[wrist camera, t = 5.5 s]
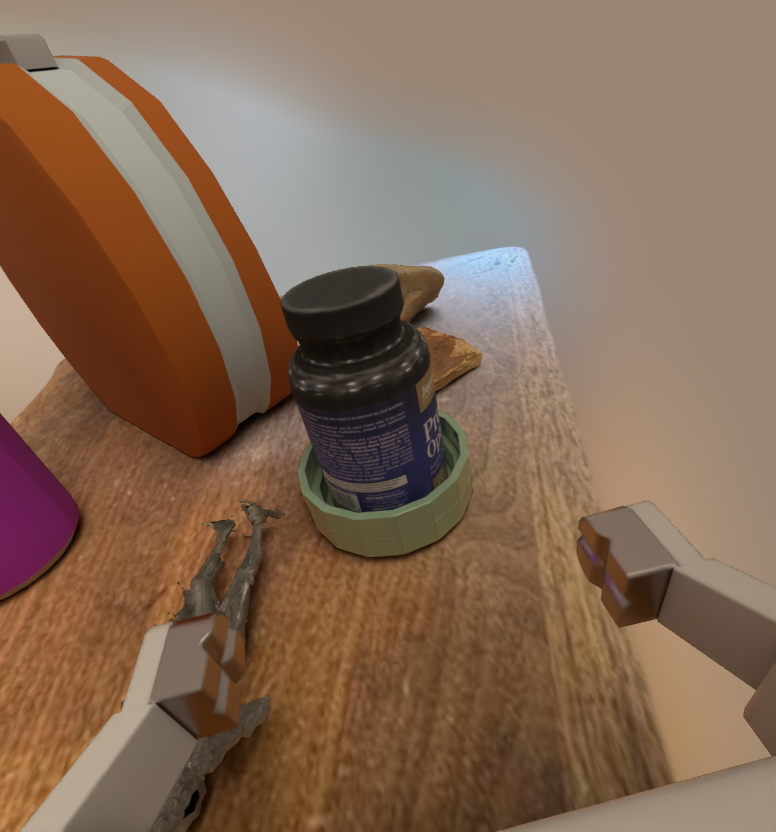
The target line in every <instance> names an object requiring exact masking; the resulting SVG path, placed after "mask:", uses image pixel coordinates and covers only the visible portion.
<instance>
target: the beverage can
mask: <svg viewBox="0 0 776 832" xmlns="http://www.w3.org/2000/svg"><path fill="white" fill-rule="evenodd" d="M79 517H80V514H79V510H78V506H77V504H76V502H75V501H74V499H73V498H72V496H71V495H70V494H69V492H68V491H67V490H66V489H65V488H64V487H63V486H62V484H61V483H60V482H59V481H58V480H57V479H56V477H55V476H54V475H53V474H52V473H51V472H50V470H49V469H48V468H47V467H46V466H45V465H44V463H43V462H42V461H41V460H40V459H39V458H38V457H37V455H36V454H35V453H34V452H33V451H32V450H31V448H30V447H29V446H28V445H27V444H26V443H25V441H24V440H23V439H22V438H21V437H20V436H19V435H18V433H17V432H16V431H15V430H14V429H13V428H12V426H11V425H10V424H9V423H8V422H7V421H6V419H5V418H4V417H3V416H2V415H1V414H0V600H2V599H5V598H7V597H9V596H11V595H13V594H14V593H16V592H18V591H19V590H21V589H23V588H25V587H26V586H28V585H29V584H31V583H32V582H33V581H35V580H36V579H37V578H38V577H40V576H41V575H42V574H44V573H45V572H46V571H47V570H48V569H49V568H50V567H51V566H52V565H53V564H54V563H55V562H56V561H57V560H58V559H59V558H60V557H61V556H62V555H63V553H64V552H65V550H66V549H67V547H68V546H69V544H70V542H71V541H72V537H73V534H74V532H75V530H76V527H77V523H78V520H79Z"/></svg>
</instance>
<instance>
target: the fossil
mask: <svg viewBox="0 0 776 832" xmlns="http://www.w3.org/2000/svg"><path fill="white" fill-rule="evenodd" d="M369 266H382V267H387V268H390V269H392V270H394V271H396V272H397V274H398V276H399V280H400V285H401V291H402V296H403V299H404V307H403V310H402V313H401V315H400V320H403V321H406V322H408V323H410V322H411V321H412V319H413V318H414V316H415V315H416V314H417V313H418V312H419V311H421V310H422V309H423V308H424V307H425V306H426V305H427V304H428V303H431V302H433V301H434V300H435V299H436V298H437V297H438V294H439V292H440V290H441V288H442V286H443V284H444V277H443V274H442V273H441V272H440V271H438V270H437V269H434V268H432V267H431V266H419V267H417V266H403V265H387V264H377V265H369Z"/></svg>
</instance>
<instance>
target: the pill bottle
mask: <svg viewBox="0 0 776 832" xmlns="http://www.w3.org/2000/svg"><path fill="white" fill-rule="evenodd" d="M403 307H404V299H403V296H402V291H401V285H400V280H399V276H398V274H397V272H396V271H394V270H392V269H390V268H387V267H382V266H359V267H351V268H346V269H339V270H337V271H332V272H328V273H325V274H322V275H319V276H316V277H314V278H312V279H309V280H306V281H304V282H302V283H300V284H298V285H297V286H295V287H293V288H292V289H290V290H289V291H288V292H287V293H286V294H285V295H284V297H282V299H281V308H282V312H283V314H284V318H285V321H286V325H287V328H288V330H289V331H290V333H291V334H292V336H293V337H294V338H295V340H297V341H299V344H300V346H299V347H298V348H297V349H296V350H295V351H294V353H293V355H292V357H291V359H290V362H289V366H288V380H289V384H290V387H291V391H292V394H293V396H294V398H295V401H296V403H297V406H298V409H299V411H300V414H301V417H302V419H303V422H304V425H305V428H306V430H307V433H308V435H309V438H310V441H311V444H312V446H313V449H314V452H315V454H316V457H317V460H318V462H319V465H320V467H321V470H322V473H323V476H324V478H325V481H326V483H327V486H328V489H329V491H330V494H331V496H332V499H333V503H334V505H335V507H337V508H341V509H345V510H349V511H352V512H356V513H362V512H374V511H386V510H394V509H396V508H399V507H401V506H404V505H406V504H409V503H411V502H414V501H417V500H419V499H422V498H424V497H426V496H427V495H429V494H430V493H431V492H432V491H433V490H434V489H436V488H437V487H438V486H439V485H440V484H442V483H443V482H444V481H445V480H446V479H448V472H447V464H446V458H445V452H444V446H443V439H442V432H441V426H440V420H439V413H438V407H437V400H436V394H435V387H434V381H433V374H432V369H431V362H430V353H429V350H428V345H427V342H426V340H425V338H424V336H423V335H422V333H421V332H420V331H419V330H418V329H417V328H416V327H414V326H413V325H411V324H410V323H408V322H406V321H403V320H400V315H401V313H402V310H403Z"/></svg>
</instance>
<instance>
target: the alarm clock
mask: <svg viewBox="0 0 776 832" xmlns="http://www.w3.org/2000/svg"><path fill="white" fill-rule="evenodd" d="M0 266H1V267H2V269H3V271H4V272H5V274H6V275H7V277H8V279H9V280H10V281H11V283H12V285H13V286H14V287H15V289H16V290H17V292H18V293H19V295H20V296H21V298H22V299H23V301H24V302H25V303H26V305H27V306H28V308H29V309H30V311H31V312H32V313H33V315H34V316H35V318H36V319H37V321H38V322H39V324H40V325H41V326H42V328H43V329H44V330H45V332H46V333H47V334H48V336H50V338H51V339H52V341H53V342H54V343H55V345H56V346H57V347H58V349H59V350H60V351H61V353H62V354H63V355H64V357H65V358H66V359H67V361H68V362H69V363H70V364H71V366H72V367H73V368H74V369H75V370H76V372H77V373H78V374H79V375H80V376H81V378H82V379H83V380H84V381H85V382H86V384H87V385H88V386H89V387H90V388H91V389H92V391H93V392H94V393H95V394H96V395H97V396H98V397H99V398H100V399H101V400H102V401H103V402H104V403H105V405H106V406H107V407H108V408H109V409H110V410H111V411H112V412H113V413H115V414H117V415H119V416H120V417H122V418H124V419H126V420H127V421H129V422H131V423H133V424H134V425H136V426H138V427H140V428H141V429H143V430H145V431H147V432H149V433H150V434H152V435H154V436H156V437H157V438H159V439H161V440H163V441H164V442H166V443H168V444H170V445H172V446H173V447H175V448H177V449H179V450H180V451H182V452H184V453H186V454H187V455H189V456H192V457H201V456H204V455H206V454H209V453H210V452H211V451H213V450H214V449H215V448H217V447H218V446H220V445H221V444H222V443H224V442H225V441H227V440H228V439H229V438H231V437H232V436H233V435H234V433H235V431H236V429H237V427H238V424H240V423H241V422H242V421H244V420H245V419H247V418H248V417H250V416H251V415H252V414H254V413H255V412H256V413H265V412H267V411H268V410H269V409H271V408H272V407H274V406H275V405H276V404H278V403H279V402H281V401H282V400H283V399H285V398H286V397H288V396H289V395H290V394H292V391H291V387H290V384H289V380H288V366H289V362H290V359H291V357H292V355H293V353H294V351H295V350H296V349H297V348H298V344H297V341H296V340H295V338H294V337H293V336H292V334H291V333H290V331H289V330H288V328H287V325H286V321H285V318H284V314H283V312H282V308H281V299H280V297H279V295H278V293H277V291H276V289H275V287H274V285H273V283H272V281H271V278H270V277H269V274H268V272H267V270H266V268H265V266H264V264H263V262H262V260H261V258H260V256H259V254H258V251H257V249H256V247H255V245H254V244H253V242H252V240H251V238H250V237H249V235H248V233H247V232H246V230H245V228H244V226H243V225H242V223H241V222H240V219H239V218H238V216H237V215H236V213H235V211H234V209H233V207H232V206H231V204H230V202H229V200H228V199H227V197H226V195H225V194H224V192H223V190H222V189H221V187H220V185H219V183H218V182H217V180H216V178H215V176H214V175H213V173H212V171H211V170H210V169H209V167H208V166H207V165H206V163H205V162H204V160H203V159H202V158H201V156H200V155H199V154H198V152H197V151H196V150H195V148H194V147H193V145H192V144H191V143H190V142H189V140H188V139H187V137H186V136H185V135H184V133H183V132H182V131H181V129H180V128H179V126H178V125H177V124H176V123H175V121H174V120H173V118H172V117H171V116H170V114H169V113H168V111H167V110H166V109H165V107H164V106H163V105H162V103H161V102H160V101H159V100H158V99H157V98H155V97H154V96H153V95H151V94H150V93H149V92H148V91H146V90H145V89H144V88H143V87H141V86H140V85H139V84H137V83H136V82H135V81H134V80H132V79H131V78H130V77H129V76H127V75H126V74H125V73H124V72H122V71H121V70H120V69H119V68H117V67H116V66H115V65H113V64H112V63H111V62H109V61H108V60H106V59H103V58H100V57H90V56H89V57H88V56H52V54H51V52H50V50H49V48H48V45H47V44H46V41H45V39H44V38H43V37H41V36H40V35H39V34H16V35H0Z"/></svg>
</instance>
